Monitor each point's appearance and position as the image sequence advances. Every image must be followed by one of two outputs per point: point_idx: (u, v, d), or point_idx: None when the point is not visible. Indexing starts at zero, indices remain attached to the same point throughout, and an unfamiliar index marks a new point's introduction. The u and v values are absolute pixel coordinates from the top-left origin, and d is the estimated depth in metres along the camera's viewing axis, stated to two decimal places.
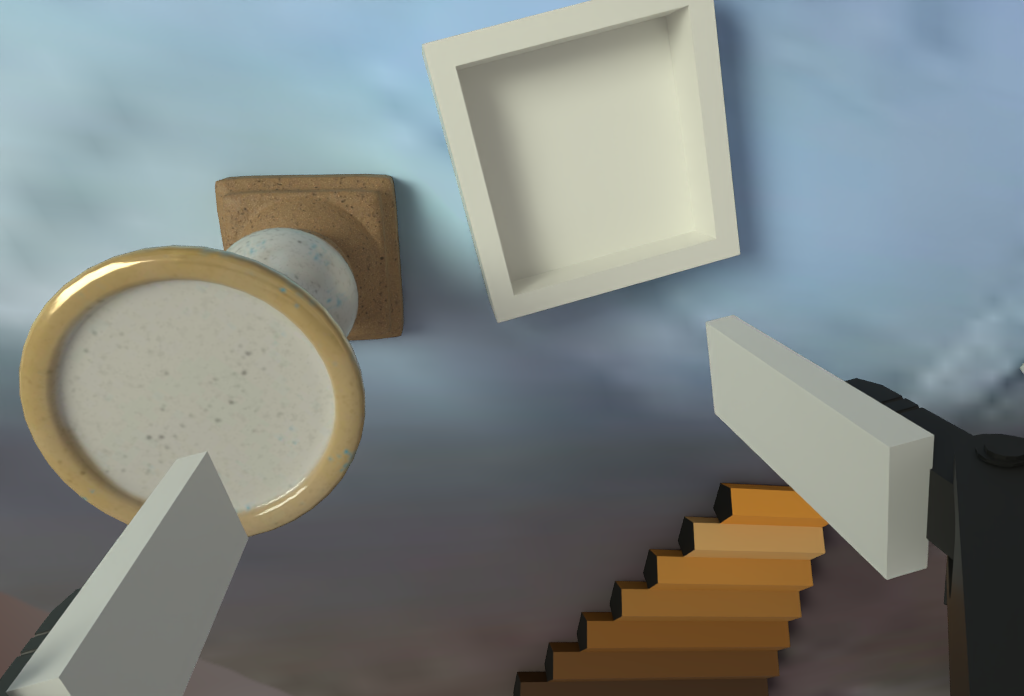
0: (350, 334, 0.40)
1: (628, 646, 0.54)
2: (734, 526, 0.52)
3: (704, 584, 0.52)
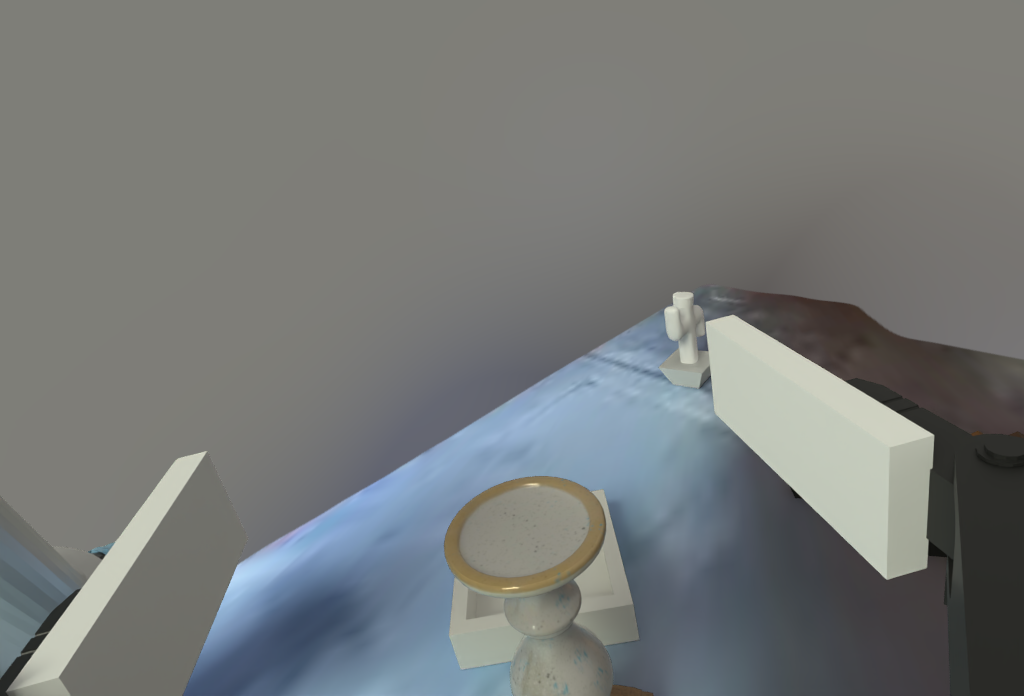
0: None
1: None
2: None
3: None
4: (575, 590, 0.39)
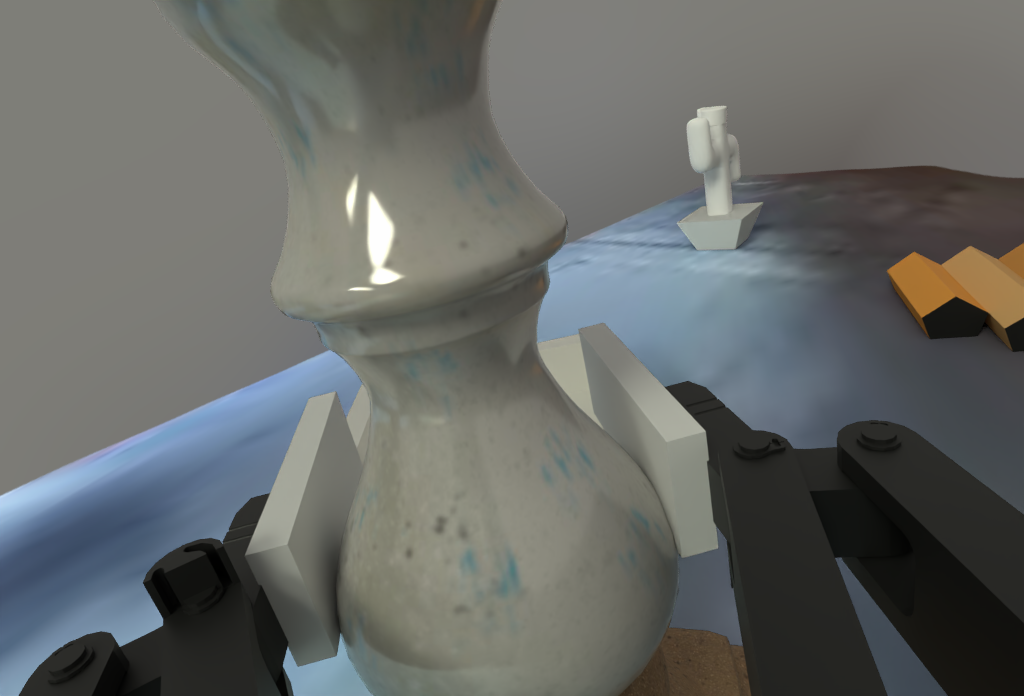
0: None
1: None
2: (983, 303, 0.39)
3: None
4: (543, 194, 0.10)
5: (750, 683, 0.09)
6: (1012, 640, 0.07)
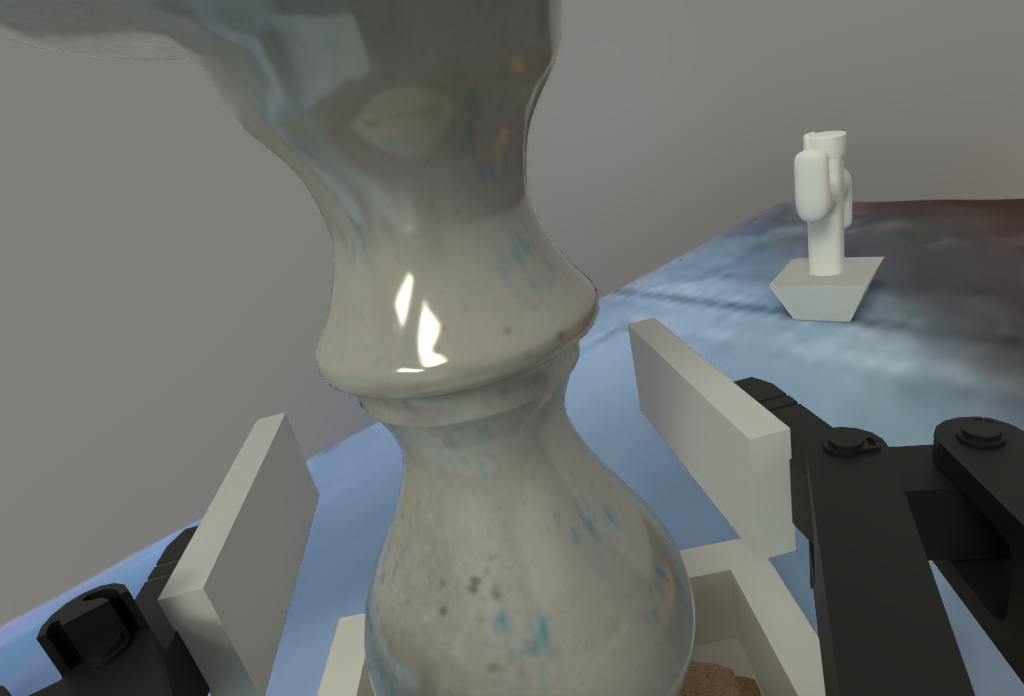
0: None
1: None
2: None
3: None
4: (576, 269, 0.11)
5: (826, 685, 0.08)
6: None
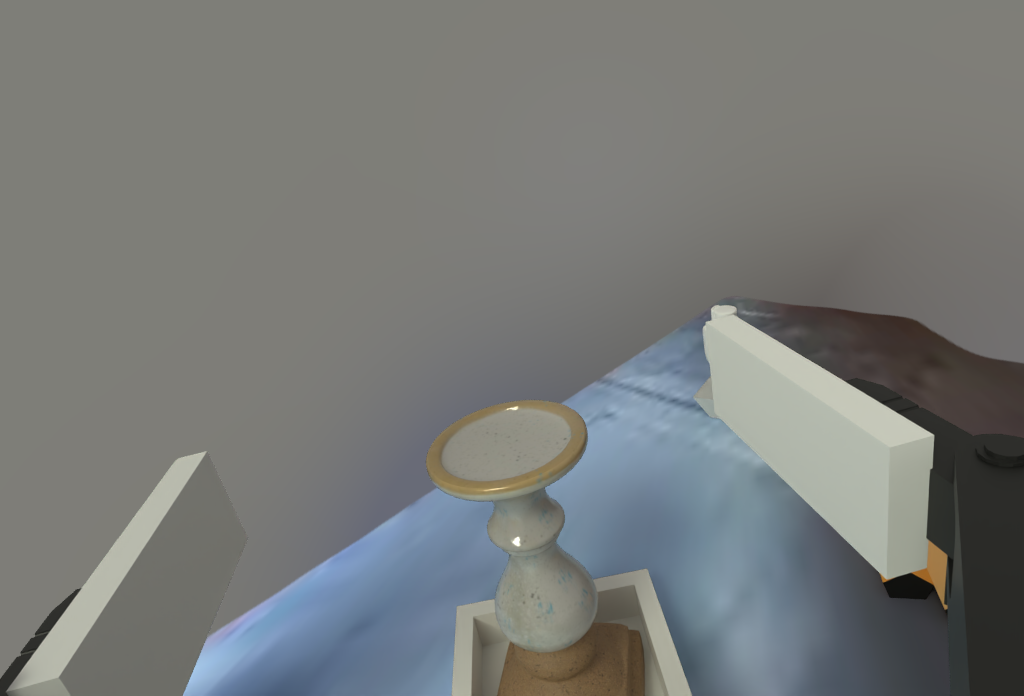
0: (625, 649, 0.45)
1: None
2: (930, 571, 0.49)
3: None
4: (558, 509, 0.39)
5: None
6: None
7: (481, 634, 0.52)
